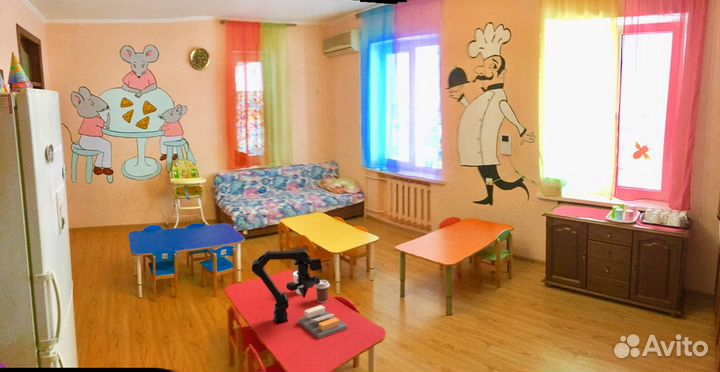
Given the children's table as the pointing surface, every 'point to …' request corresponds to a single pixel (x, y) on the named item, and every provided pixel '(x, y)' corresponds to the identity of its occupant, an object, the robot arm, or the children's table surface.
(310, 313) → the cream key
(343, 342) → the children's table surface
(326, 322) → the orange key
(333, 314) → the cream plate with stripe
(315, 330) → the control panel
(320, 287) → the coffee cup
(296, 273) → the foam cup
